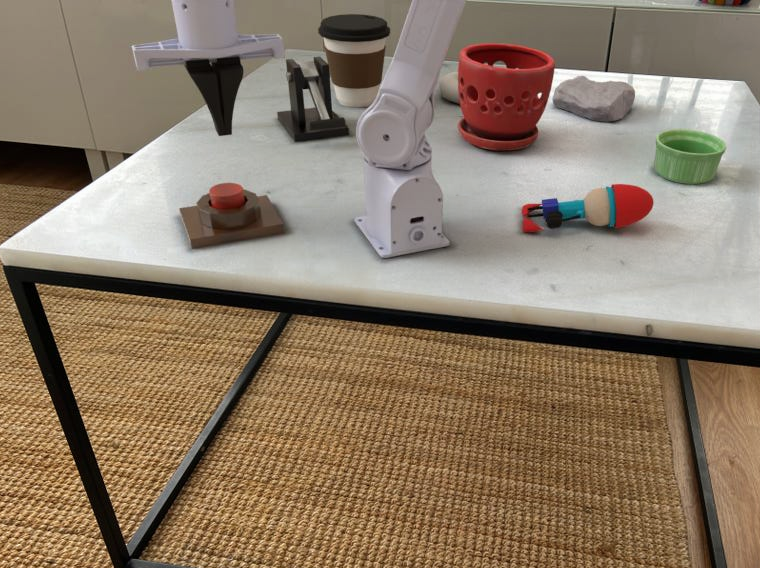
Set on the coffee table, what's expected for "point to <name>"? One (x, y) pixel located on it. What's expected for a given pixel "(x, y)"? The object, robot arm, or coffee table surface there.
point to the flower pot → (503, 94)
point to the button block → (230, 221)
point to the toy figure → (594, 208)
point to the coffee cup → (355, 56)
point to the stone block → (595, 98)
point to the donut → (450, 87)
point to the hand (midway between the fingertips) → (223, 132)
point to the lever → (317, 99)
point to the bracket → (300, 116)
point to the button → (227, 196)
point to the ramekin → (688, 155)
